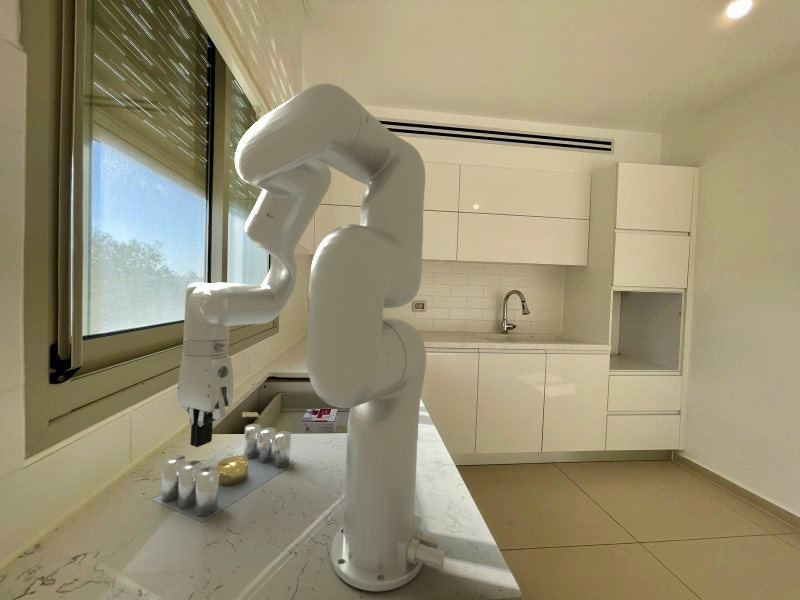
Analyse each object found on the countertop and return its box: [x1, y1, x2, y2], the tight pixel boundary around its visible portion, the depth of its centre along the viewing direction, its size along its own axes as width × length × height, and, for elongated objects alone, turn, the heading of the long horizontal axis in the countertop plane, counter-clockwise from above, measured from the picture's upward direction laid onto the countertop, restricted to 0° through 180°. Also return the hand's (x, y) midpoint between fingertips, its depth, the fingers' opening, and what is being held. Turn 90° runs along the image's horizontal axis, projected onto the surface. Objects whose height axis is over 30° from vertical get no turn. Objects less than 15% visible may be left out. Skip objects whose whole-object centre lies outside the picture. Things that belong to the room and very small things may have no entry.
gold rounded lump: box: [216, 455, 248, 487], centre depth 60 cm, size 5×5×3 cm
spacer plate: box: [151, 453, 297, 523], centre depth 60 cm, size 12×20×1 cm, turn 157°
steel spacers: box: [161, 423, 292, 517], centre depth 60 cm, size 11×19×6 cm, turn 157°
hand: (201, 443), depth 63 cm, fingers closed
